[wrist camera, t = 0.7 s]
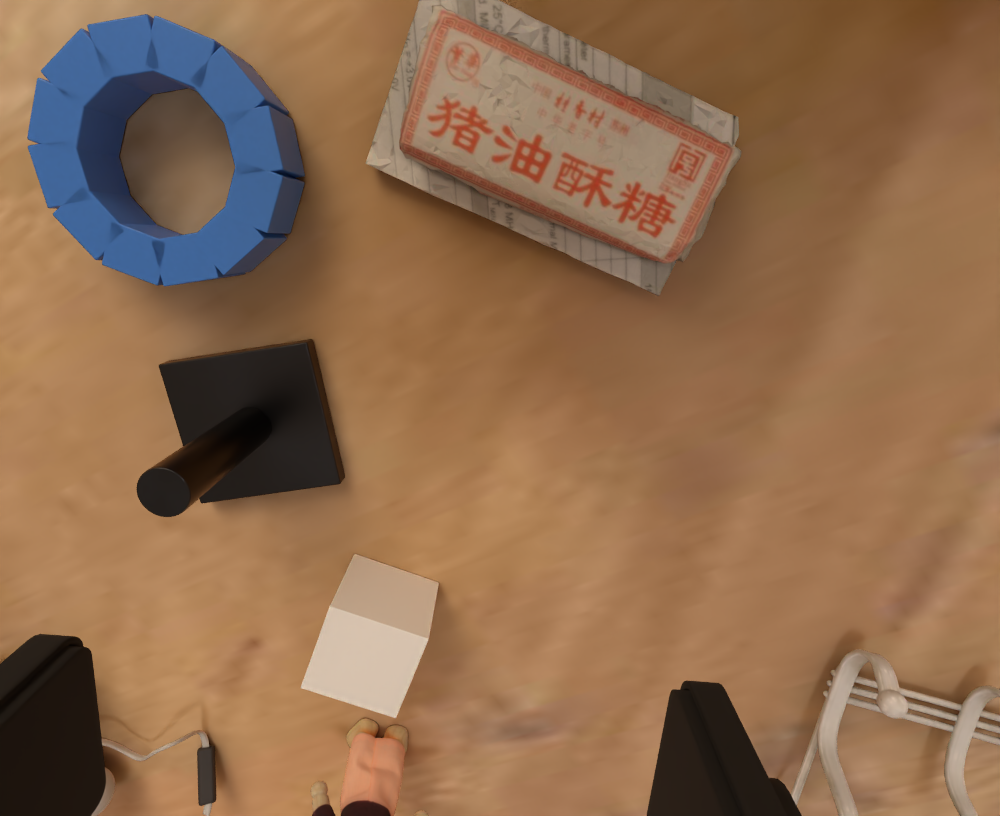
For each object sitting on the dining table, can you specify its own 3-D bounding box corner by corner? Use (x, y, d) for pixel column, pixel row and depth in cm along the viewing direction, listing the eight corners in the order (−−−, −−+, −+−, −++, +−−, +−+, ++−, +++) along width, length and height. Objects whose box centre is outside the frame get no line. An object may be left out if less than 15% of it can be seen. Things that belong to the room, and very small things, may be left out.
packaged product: (776, 107, 29) (678, 303, 31) (738, 125, 33) (655, 295, 36) (420, -69, 27) (345, 155, 29) (432, -24, 31) (367, 166, 34)
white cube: (439, 582, 41) (429, 639, 35) (410, 652, 43) (396, 718, 37) (353, 553, 40) (329, 606, 35) (327, 626, 42) (300, 688, 36)
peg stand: (168, 360, 37) (31, 411, 26) (313, 338, 37) (234, 381, 26) (209, 496, 39) (98, 593, 29) (345, 477, 39) (285, 568, 28)
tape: (45, 61, 33) (-9, 40, 29) (271, 22, 32) (243, -4, 29) (119, 293, 36) (78, 300, 32) (324, 261, 35) (305, 264, 32)
